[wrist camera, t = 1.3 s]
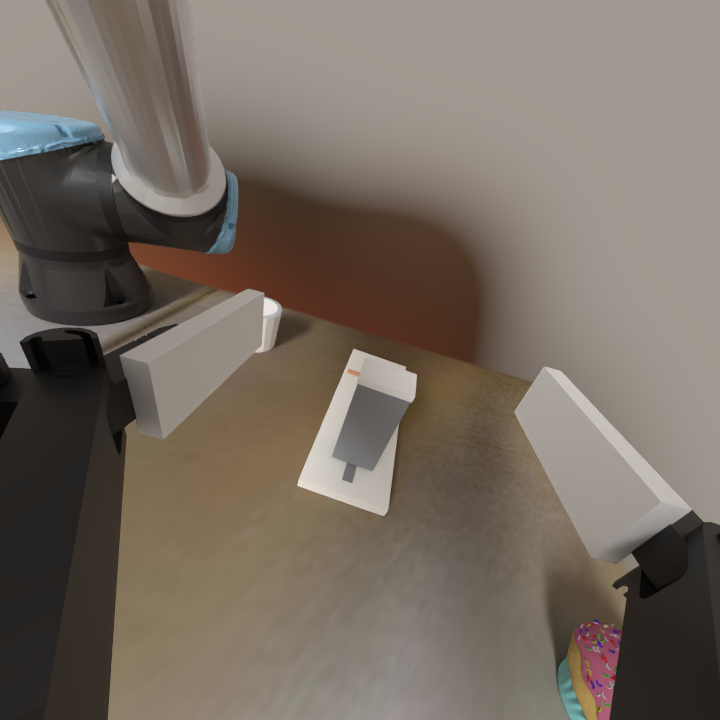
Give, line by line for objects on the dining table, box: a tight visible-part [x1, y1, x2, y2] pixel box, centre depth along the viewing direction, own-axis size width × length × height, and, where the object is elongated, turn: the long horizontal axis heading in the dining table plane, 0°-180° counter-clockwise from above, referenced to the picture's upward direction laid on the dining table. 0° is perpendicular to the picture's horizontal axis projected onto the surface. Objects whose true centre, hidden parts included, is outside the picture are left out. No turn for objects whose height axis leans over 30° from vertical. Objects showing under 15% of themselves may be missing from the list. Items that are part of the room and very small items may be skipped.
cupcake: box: [557, 620, 622, 720], centre depth 20 cm, size 9×8×12 cm
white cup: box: [255, 297, 282, 352], centre depth 45 cm, size 7×7×7 cm
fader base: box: [297, 349, 406, 516], centre depth 40 cm, size 26×10×2 cm, turn 167°
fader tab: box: [332, 357, 417, 471], centre depth 29 cm, size 3×5×13 cm, turn 77°
